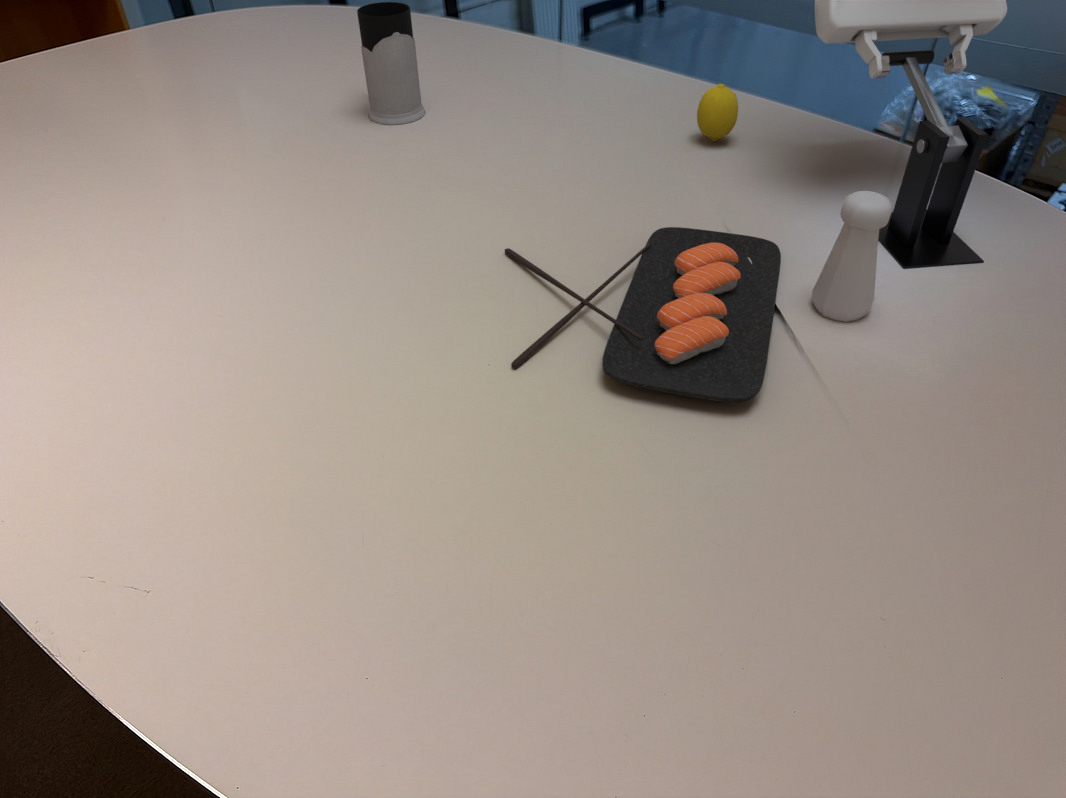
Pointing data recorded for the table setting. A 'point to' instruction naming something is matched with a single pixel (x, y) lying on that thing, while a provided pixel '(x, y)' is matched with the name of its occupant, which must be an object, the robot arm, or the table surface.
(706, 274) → the sushi plate
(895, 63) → the lever
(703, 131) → the lemon
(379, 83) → the glass holder
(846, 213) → the salt shaker
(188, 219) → the table surface
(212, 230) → the table surface
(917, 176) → the bracket
